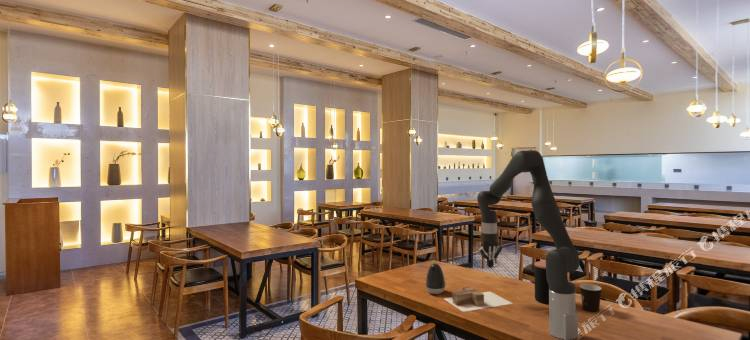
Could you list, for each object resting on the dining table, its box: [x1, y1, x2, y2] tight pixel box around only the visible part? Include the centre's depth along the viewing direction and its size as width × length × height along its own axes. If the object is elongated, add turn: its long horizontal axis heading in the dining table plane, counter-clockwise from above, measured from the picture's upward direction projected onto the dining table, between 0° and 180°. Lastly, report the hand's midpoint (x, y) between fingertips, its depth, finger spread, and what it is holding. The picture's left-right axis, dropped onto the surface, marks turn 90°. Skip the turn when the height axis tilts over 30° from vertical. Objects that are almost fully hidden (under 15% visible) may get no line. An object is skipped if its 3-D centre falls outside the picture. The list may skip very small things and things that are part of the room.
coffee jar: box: [533, 260, 549, 306], centre depth 186 cm, size 11×11×18 cm
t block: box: [452, 286, 484, 306], centre depth 186 cm, size 12×12×5 cm
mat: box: [443, 291, 514, 313], centre depth 187 cm, size 18×27×1 cm, turn 109°
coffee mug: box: [579, 283, 603, 313], centre depth 176 cm, size 12×9×10 cm
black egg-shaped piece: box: [425, 263, 446, 295], centre depth 201 cm, size 10×10×15 cm
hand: (490, 267), depth 189 cm, fingers closed
